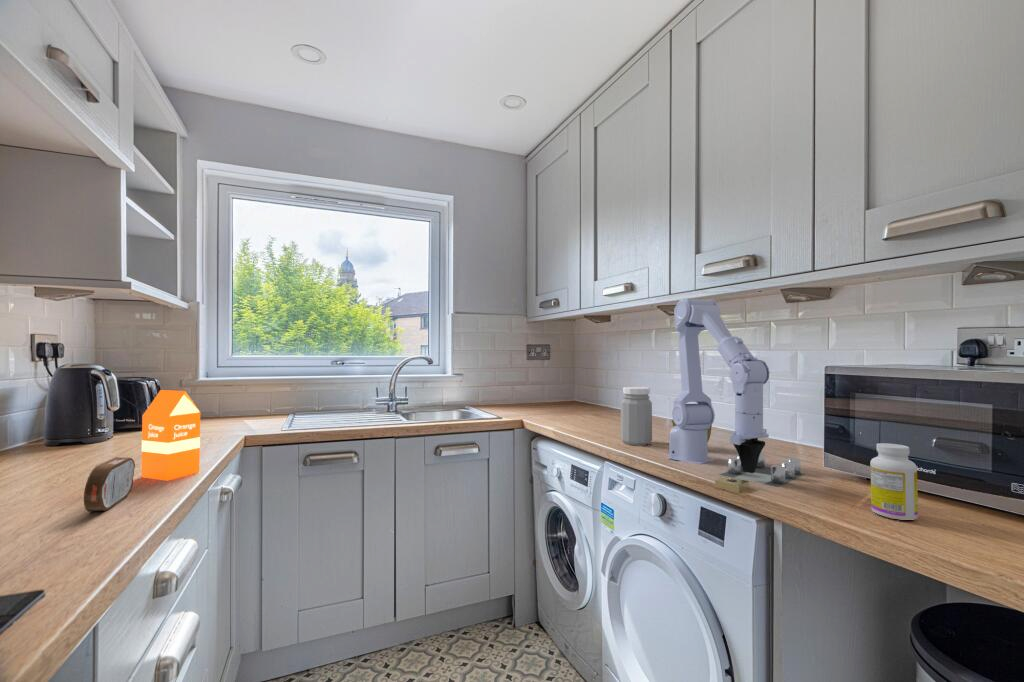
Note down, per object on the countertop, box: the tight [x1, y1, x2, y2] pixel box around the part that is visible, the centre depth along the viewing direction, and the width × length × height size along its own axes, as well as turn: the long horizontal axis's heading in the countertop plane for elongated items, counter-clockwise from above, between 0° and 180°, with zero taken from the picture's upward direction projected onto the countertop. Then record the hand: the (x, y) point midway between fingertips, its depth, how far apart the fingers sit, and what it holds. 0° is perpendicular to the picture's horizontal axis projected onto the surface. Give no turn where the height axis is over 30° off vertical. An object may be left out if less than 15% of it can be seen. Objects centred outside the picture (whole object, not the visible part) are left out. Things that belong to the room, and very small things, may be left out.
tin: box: [83, 456, 136, 513], centre depth 89 cm, size 15×3×8 cm, turn 21°
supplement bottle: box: [869, 442, 919, 519], centre depth 85 cm, size 7×7×13 cm
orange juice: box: [140, 389, 201, 481], centre depth 110 cm, size 8×9×20 cm
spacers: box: [727, 452, 802, 485], centre depth 112 cm, size 13×14×4 cm
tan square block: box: [714, 476, 750, 495], centre depth 100 cm, size 5×5×2 cm
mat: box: [719, 465, 806, 488], centre depth 111 cm, size 13×17×1 cm
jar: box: [620, 386, 653, 446], centre depth 150 cm, size 10×10×18 cm
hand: (748, 472), depth 106 cm, fingers closed
